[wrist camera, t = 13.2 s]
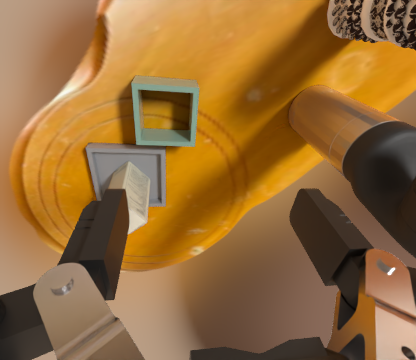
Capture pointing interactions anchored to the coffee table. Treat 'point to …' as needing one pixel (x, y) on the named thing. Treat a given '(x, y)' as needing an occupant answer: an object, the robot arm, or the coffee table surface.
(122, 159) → the tray
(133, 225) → the skincare box
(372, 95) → the coffee table surface
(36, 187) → the coffee table surface
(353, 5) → the decorative candle
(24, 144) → the coffee table surface
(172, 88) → the teal square open box
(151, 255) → the coffee table surface
